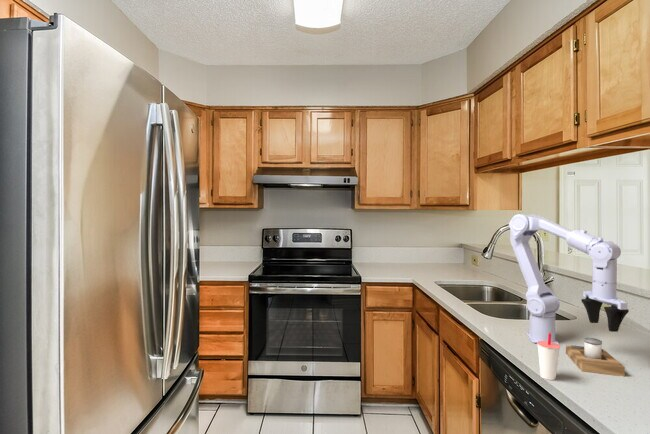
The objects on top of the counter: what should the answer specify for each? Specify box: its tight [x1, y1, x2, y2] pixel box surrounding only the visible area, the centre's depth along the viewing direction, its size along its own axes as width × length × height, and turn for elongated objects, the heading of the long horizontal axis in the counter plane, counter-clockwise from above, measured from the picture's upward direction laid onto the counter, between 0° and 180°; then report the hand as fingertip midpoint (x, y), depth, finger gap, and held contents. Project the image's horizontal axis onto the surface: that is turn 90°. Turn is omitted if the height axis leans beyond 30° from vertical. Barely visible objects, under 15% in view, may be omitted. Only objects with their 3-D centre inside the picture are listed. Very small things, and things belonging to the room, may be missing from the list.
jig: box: [565, 344, 626, 377], centre depth 104 cm, size 13×10×3 cm
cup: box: [536, 333, 561, 381], centre depth 95 cm, size 5×5×12 cm
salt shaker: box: [583, 337, 603, 360], centre depth 104 cm, size 4×4×7 cm
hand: (603, 326), depth 107 cm, fingers open, 7 cm apart
